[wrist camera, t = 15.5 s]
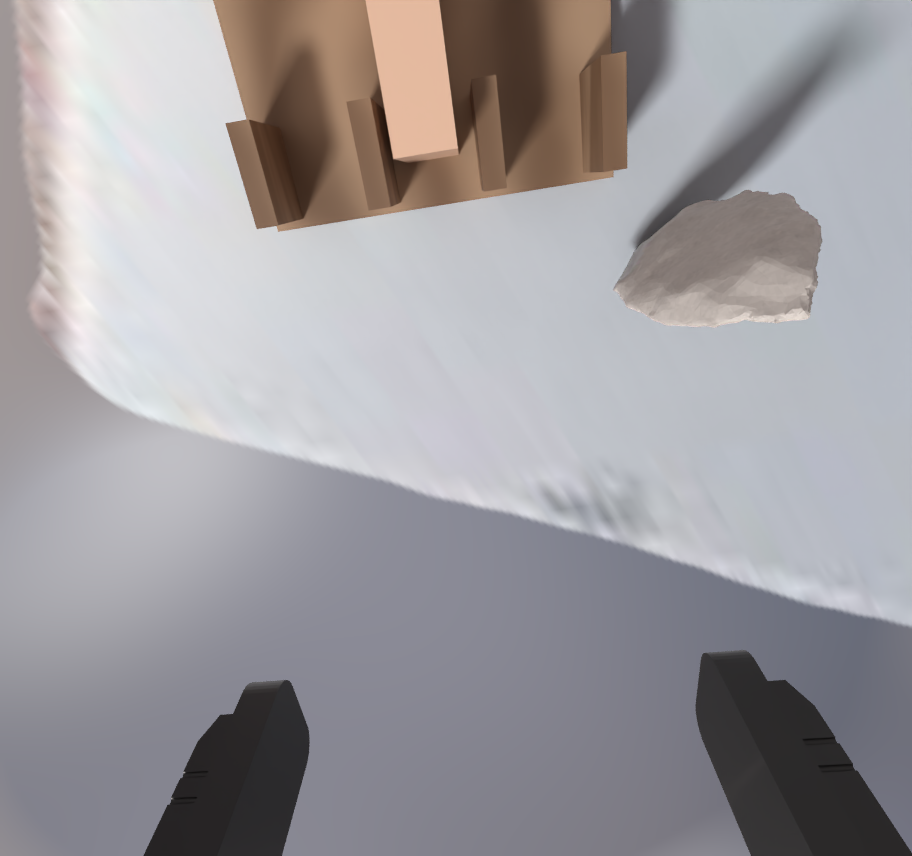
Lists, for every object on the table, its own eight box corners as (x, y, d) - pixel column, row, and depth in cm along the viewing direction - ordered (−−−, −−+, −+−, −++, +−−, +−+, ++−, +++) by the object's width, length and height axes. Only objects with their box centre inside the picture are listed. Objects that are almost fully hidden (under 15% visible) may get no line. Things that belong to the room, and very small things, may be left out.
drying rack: (599, -270, 24) (640, -404, 19) (608, 176, 32) (638, 177, 27) (172, -174, 26) (92, -271, 20) (284, 230, 34) (249, 240, 28)
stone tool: (708, 167, 32) (887, 160, 19) (737, 206, 33) (928, 226, 20) (593, 278, 35) (676, 342, 22) (623, 310, 36) (721, 391, 23)
